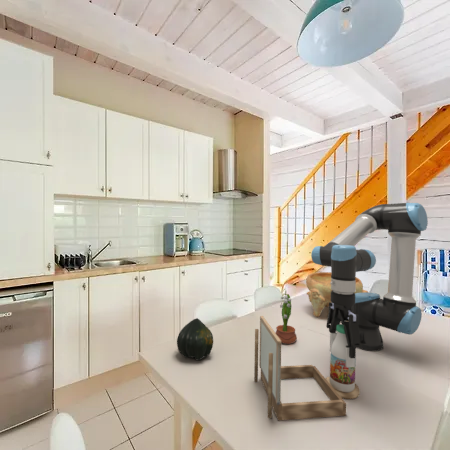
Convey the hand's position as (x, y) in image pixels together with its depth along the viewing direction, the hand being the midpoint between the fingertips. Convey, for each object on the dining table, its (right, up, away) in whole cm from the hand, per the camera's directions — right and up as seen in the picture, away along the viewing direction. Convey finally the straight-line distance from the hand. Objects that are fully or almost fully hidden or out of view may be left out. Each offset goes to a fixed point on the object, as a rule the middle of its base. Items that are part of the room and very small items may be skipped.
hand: (341, 358), depth 88 cm
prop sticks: (-27, -10, -5) cm, 29 cm away
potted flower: (-11, -10, +35) cm, 38 cm away
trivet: (0, -10, 0) cm, 10 cm away
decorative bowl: (+26, -10, +75) cm, 81 cm away
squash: (-51, -9, +21) cm, 56 cm away
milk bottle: (0, -9, 0) cm, 9 cm away
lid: (-25, -5, -5) cm, 26 cm away
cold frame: (-15, -10, -4) cm, 19 cm away
